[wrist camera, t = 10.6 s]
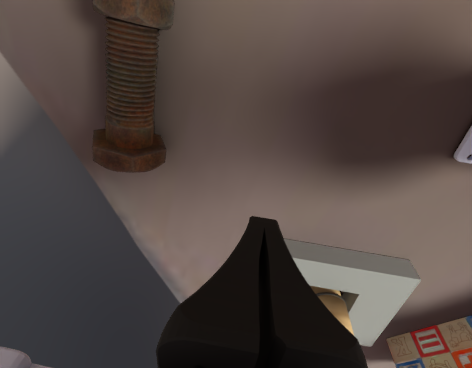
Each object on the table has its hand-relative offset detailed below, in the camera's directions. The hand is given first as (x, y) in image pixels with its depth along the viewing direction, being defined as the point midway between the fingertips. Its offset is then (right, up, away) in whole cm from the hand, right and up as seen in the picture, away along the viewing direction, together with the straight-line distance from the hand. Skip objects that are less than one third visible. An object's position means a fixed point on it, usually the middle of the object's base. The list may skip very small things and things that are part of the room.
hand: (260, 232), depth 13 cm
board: (+8, -9, +16) cm, 20 cm away
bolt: (-8, +12, +6) cm, 16 cm away
